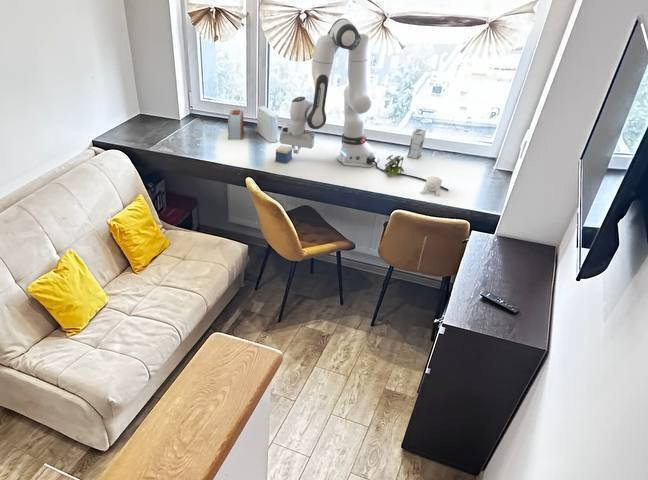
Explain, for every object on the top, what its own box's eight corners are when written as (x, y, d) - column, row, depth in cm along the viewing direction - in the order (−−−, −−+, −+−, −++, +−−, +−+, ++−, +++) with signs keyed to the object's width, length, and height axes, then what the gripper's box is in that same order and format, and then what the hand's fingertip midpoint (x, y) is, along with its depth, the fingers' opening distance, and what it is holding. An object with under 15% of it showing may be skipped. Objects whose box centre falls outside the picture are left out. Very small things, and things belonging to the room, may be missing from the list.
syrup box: (411, 153, 314) (416, 128, 304) (421, 155, 311) (426, 130, 301) (407, 157, 311) (412, 131, 301) (417, 159, 308) (422, 133, 298)
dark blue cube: (291, 158, 317) (292, 146, 312) (286, 163, 313) (286, 151, 308) (281, 156, 320) (281, 144, 315) (275, 161, 315) (275, 149, 311)
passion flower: (386, 180, 302) (389, 158, 301) (405, 180, 297) (409, 157, 295) (380, 175, 293) (383, 152, 291) (400, 175, 287) (404, 152, 286)
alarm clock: (231, 130, 354) (230, 109, 345) (244, 130, 353) (243, 109, 344) (228, 139, 344) (227, 117, 334) (241, 139, 342) (240, 117, 333)
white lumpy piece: (422, 192, 285) (420, 193, 272) (426, 175, 281) (424, 176, 269) (439, 194, 282) (437, 196, 269) (444, 177, 279) (442, 178, 266)
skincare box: (278, 141, 337) (278, 115, 326) (270, 143, 336) (270, 116, 325) (264, 130, 352) (264, 105, 341) (256, 132, 350) (256, 106, 339)
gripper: (317, 129, 298) (315, 154, 307) (283, 124, 306) (282, 148, 315) (312, 133, 294) (310, 158, 303) (278, 127, 302) (277, 152, 311)
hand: (296, 153), depth 309 cm, fingers closed
